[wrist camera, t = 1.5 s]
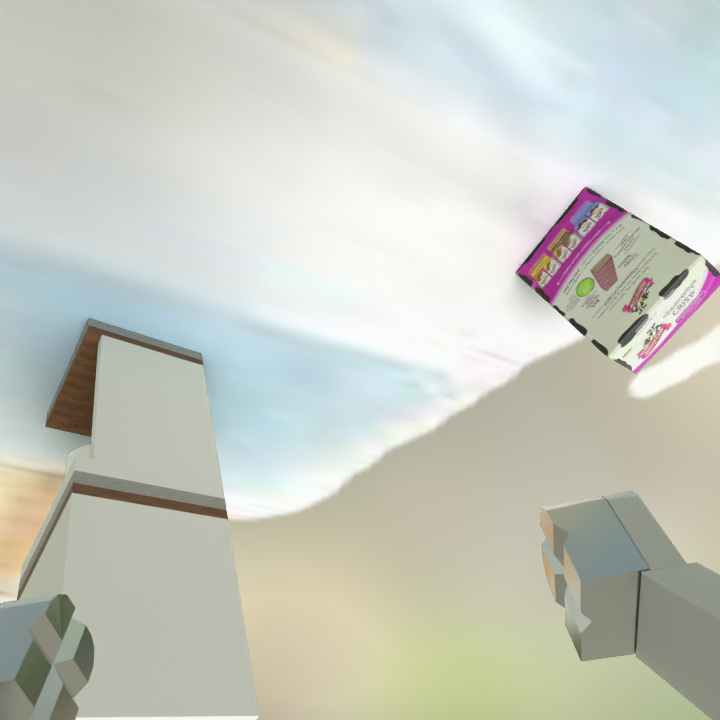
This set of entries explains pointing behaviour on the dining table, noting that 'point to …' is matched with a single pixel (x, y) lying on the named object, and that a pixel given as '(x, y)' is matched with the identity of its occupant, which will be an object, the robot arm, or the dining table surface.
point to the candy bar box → (618, 279)
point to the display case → (144, 536)
